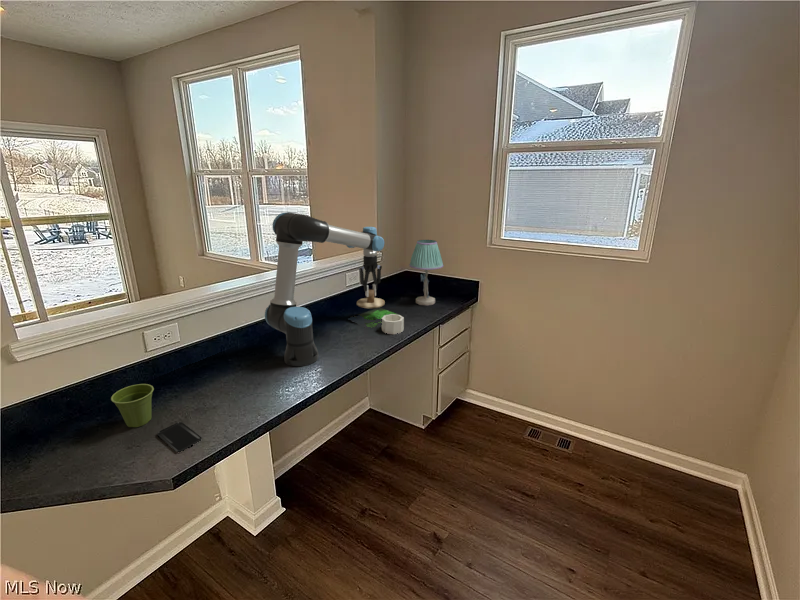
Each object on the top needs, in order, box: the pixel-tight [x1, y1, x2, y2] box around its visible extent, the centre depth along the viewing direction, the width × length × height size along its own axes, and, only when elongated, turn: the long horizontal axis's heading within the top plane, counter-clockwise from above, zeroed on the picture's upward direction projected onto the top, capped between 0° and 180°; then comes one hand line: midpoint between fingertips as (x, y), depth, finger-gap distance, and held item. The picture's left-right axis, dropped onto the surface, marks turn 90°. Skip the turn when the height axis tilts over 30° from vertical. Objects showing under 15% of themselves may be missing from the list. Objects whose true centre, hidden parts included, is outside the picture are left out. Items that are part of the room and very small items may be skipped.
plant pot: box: [110, 383, 155, 428], centre depth 130 cm, size 12×12×11 cm
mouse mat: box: [350, 307, 404, 329], centre depth 225 cm, size 27×22×1 cm
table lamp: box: [408, 239, 444, 306], centre depth 245 cm, size 22×22×40 cm
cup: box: [381, 314, 405, 335], centre depth 207 cm, size 11×11×7 cm
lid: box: [356, 288, 386, 309], centre depth 219 cm, size 16×16×8 cm
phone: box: [156, 421, 203, 453], centre depth 124 cm, size 8×1×15 cm
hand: (370, 295), depth 219 cm, fingers closed on lid, 4 cm apart
